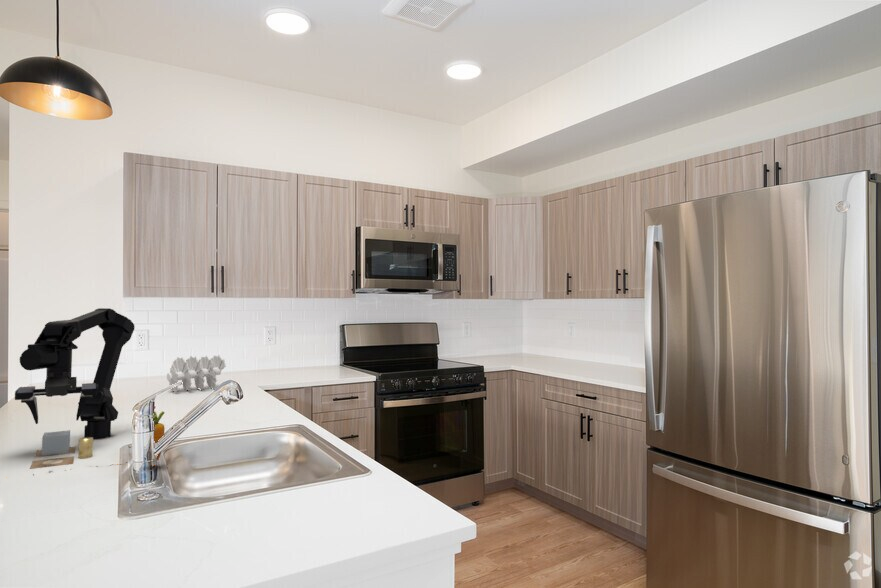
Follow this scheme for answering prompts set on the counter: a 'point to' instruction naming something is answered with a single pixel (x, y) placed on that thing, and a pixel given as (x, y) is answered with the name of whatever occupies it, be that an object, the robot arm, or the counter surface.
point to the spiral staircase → (195, 371)
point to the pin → (85, 447)
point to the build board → (52, 462)
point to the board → (39, 454)
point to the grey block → (56, 442)
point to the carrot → (158, 429)
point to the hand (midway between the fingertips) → (57, 421)
